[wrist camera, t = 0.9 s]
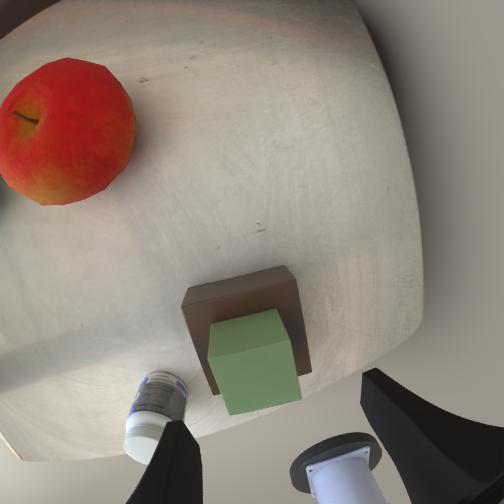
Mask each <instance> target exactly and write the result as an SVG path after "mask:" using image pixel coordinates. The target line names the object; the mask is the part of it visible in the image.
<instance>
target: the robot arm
mask: <svg viewBox="0 0 504 504" xmlns="http://www.w3.org/2000/svg"><path fill="white" fill-rule="evenodd" d="M360 404H361V406H362V408H363V410H364V413H365V415H366V417H367V419H368V421H369V423H370V425H371V427H372V428H373V430H374V432H375V433H376V435H377V436H378V438H379V439H380V441H381V442H382V444H383V446H384V447H385V449H386V451H387V452H388V454H389V455H390V457H391V458H392V460H393V462H394V464H395V466H396V467H397V470H398V472H399V474H400V476H401V478H402V480H403V483H404V485H405V488H406V490H407V493H408V495H409V498H410V500H411V503H412V504H504V427H497V426H492V425H486V424H483V423H479V422H475V421H472V420H468V419H465V418H462V417H460V416H457V415H455V414H452V413H450V412H447V411H445V410H443V409H441V408H439V407H437V406H435V405H433V404H431V403H429V402H428V401H426V400H424V399H422V398H421V397H419V396H417V395H416V394H414V393H412V392H411V391H409V390H408V389H406V388H405V387H403V386H402V385H400V384H399V383H397V382H396V381H394V380H393V379H392V378H390V377H389V376H387V375H386V374H384V373H383V372H382V371H381V370H379V369H378V368H373V369H371V370H369V371H366V372H364V373H362V388H361V401H360ZM369 455H370V447H369V446H365V447H362V448H360V449H357V450H354V451H352V452H349V453H346V454H343V455H340V456H337V457H334V458H331V459H328V460H325V461H321V462H318V463H315V464H311V465H308V466H307V467H306V471H307V476H308V480H309V485H310V490H311V494H312V497H313V498H314V497H317V498H318V502H319V504H389V503H387V502H386V500H385V498H384V496H383V494H382V492H381V490H380V488H379V486H378V484H377V482H376V480H375V478H374V476H373V474H372V472H371V470H370V468H369V467H368V465H369ZM126 504H203V480H202V462H201V454H200V447H199V445H198V443H197V442H196V440H195V439H194V437H193V436H192V434H191V433H190V431H189V430H188V428H187V427H186V425H185V424H184V422H183V421H182V420H176V421H168V422H167V423H166V425H165V427H164V430H163V432H162V435H161V437H160V440H159V442H158V445H157V447H156V449H155V451H154V454H153V456H152V458H151V460H150V462H149V464H148V466H147V468H146V471H145V472H144V474H143V476H142V478H141V480H140V482H139V483H138V485H137V487H136V489H135V490H134V492H133V493H132V495H131V496H130V498H129V499H128V501H127V502H126Z"/></svg>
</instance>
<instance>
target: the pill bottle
mask: <svg viewBox="0 0 504 504" xmlns="http://www.w3.org/2000/svg"><path fill="white" fill-rule="evenodd" d="M187 399H188V392H187V389H186V387H185V385H184V383H183V382H182V381H181V380H179V379H178V378H177V377H175V376H173V375H171V374H167V373H161V372H160V373H152V374H149V375H147V376H146V377H145V378H144V379H143V381H142V382H141V384H140V387H139V390H138V392H137V394H136V397H135V400H134V403H133V405H132V408H131V410H130V413H129V415H128V418H127V421H126V429H127V433H126V436H125V440H124V449H125V451H126V452H127V454H128V455H130V456H131V457H132V458H133V459H135V460H136V461H139V462H141V463H143V464H146V465H148V464H149V462H150V460H151V458H152V456H153V454H154V451H155V449H156V447H157V445H158V442H159V440H160V437H161V435H162V432H163V430H164V427H165V425H166V423H167V422H168V421H176V420H182V421H183V422H184V418H185V412H186V405H187Z"/></svg>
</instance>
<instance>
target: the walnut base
mask: <svg viewBox="0 0 504 504" xmlns="http://www.w3.org/2000/svg"><path fill="white" fill-rule="evenodd" d="M181 309H182V312H183V315H184V318H185V321H186V324H187V327H188V330H189V333H190V335H191V338H192V341H193V344H194V347H195V349H196V352H197V355H198V357H199V360H200V363H201V365H202V368H203V371H204V373H205V376H206V378H207V381H208V383H209V386H210V388H211V391H212V393H213V395H218V394H221V393H220V390H219V388H218V385H217V383H216V380H215V377H214V375H213V372H212V369H211V367H210V364H209V361H208V351H209V341H210V332H211V324H212V323H217V322H221V321H226V320H230V319H234V318H239V317H243V316H247V315H251V314H256V313H260V312H264V311H268V310H272V309H277V311H278V313H279V315H280V318H281V320H282V322H283V324H284V327H285V329H286V331H287V333H288V336H289V338H290V341H291V346H292V351H293V356H294V361H295V366H296V371H297V376H301V375H304V374H308V373H311V372H312V368H311V362H310V355H309V349H308V343H307V338H306V332H305V326H304V320H303V315H302V309H301V304H300V298H299V293H298V288H297V282H296V279H295V278H294V276H293V275H292V274H291V273H290V272H289V270H288V269H287V268H286V267H285V266H284V265H283V266H279V267H275V268H271V269H267V270H263V271H259V272H255V273H251V274H247V275H243V276H239V277H234V278H230V279H226V280H222V281H218V282H213V283H209V284H205V285H201V286H196V287H192V288H188V290H187V292H186V295H185V297H184V300H183V302H182V305H181Z"/></svg>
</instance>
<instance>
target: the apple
mask: <svg viewBox="0 0 504 504" xmlns="http://www.w3.org/2000/svg"><path fill="white" fill-rule="evenodd" d="M135 129H136V118H135V114H134V110H133V106H132V102H131V99H130V97H129V96H128V94H127V93H126V91H125V90H124V88H123V87H122V85H121V84H120V82H119V81H118V80H117V79H116V78H115V77H114V75H113V74H112V73H111V72H110V71H109V70H108V69H107V68H106V67H105V66H103V65H99V64H95V63H91V62H87V61H83V60H78V59H72V58H63V59H60V60H57V61H53V62H50V63H47V64H45V65H43V66H42V67H40V68H39V69H37V70H36V71H34V72H33V73H31V74H30V75H28V76H27V77H25V78H24V79H23V80H21V81H20V82H19V83H18V84H17V85H16V86H15V87H14V88H13V89H12V91H11V92H10V93H9V94H8V95H7V97H6V98H5V99H4V101H3V104H2V106H1V108H0V173H1V174H2V176H3V177H4V179H5V181H6V182H7V184H8V185H9V187H11V188H12V189H14V190H16V191H17V192H19V193H21V194H22V195H24V196H26V197H28V198H29V199H31V200H33V201H35V202H37V203H39V204H41V205H65V204H69V203H73V202H76V201H80V200H84V199H86V198H88V197H90V196H92V195H94V194H96V193H98V192H100V191H102V190H104V189H106V188H107V187H108V185H109V184H110V183H111V182H112V181H113V180H114V179H115V178H116V177H117V176H118V175H119V173H120V172H121V171H122V170H123V169H124V168H125V167H126V166H127V163H128V161H129V158H130V156H131V154H132V151H133V146H134V138H135Z"/></svg>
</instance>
